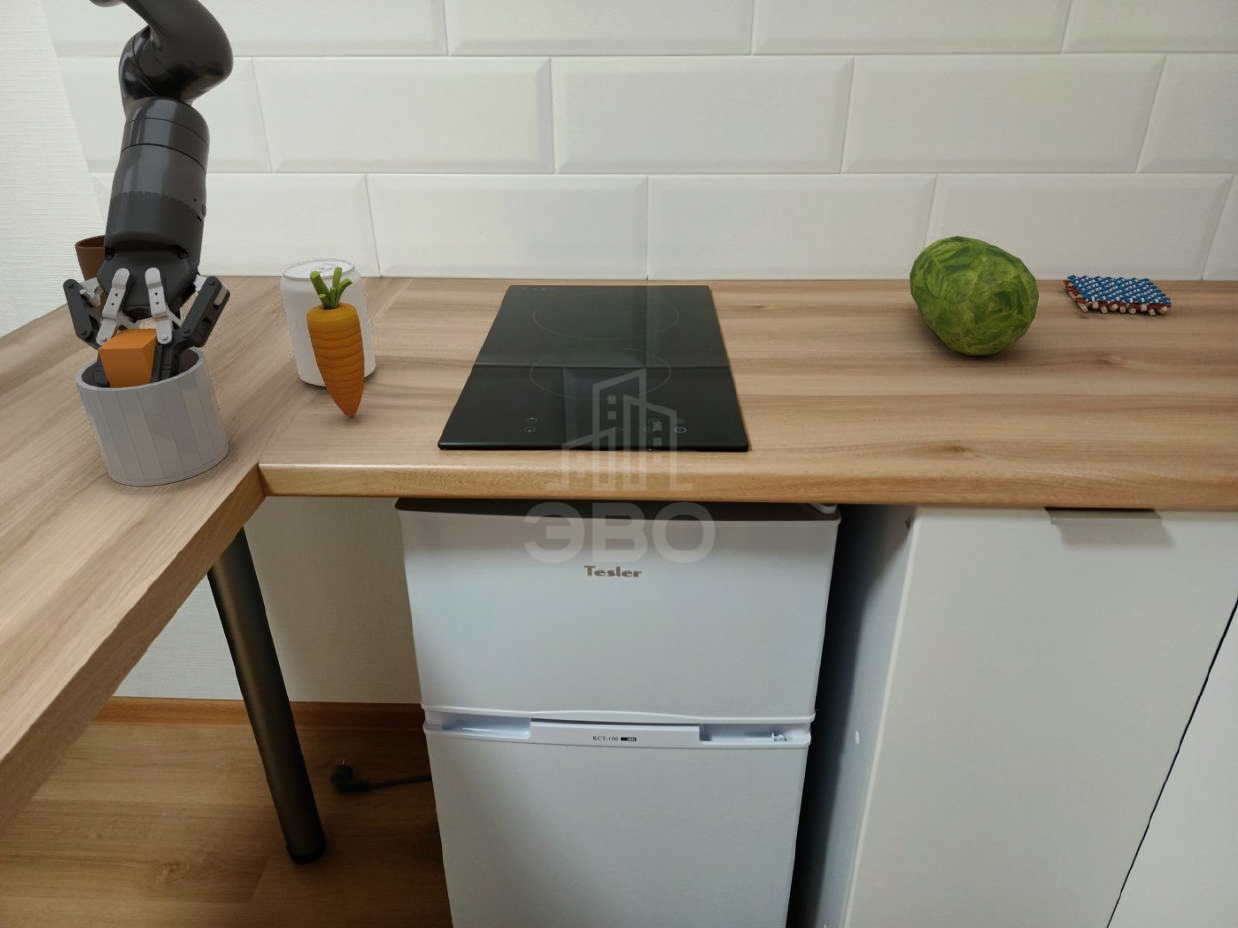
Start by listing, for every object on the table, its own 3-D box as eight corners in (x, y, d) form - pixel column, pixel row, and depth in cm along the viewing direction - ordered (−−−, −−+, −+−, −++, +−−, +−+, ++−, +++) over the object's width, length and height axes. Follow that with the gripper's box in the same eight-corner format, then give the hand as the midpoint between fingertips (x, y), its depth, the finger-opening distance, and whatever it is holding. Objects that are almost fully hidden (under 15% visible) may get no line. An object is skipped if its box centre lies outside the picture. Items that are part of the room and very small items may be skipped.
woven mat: (1058, 287, 117) (1062, 272, 116) (1144, 291, 115) (1148, 276, 114) (1078, 312, 108) (1082, 296, 107) (1171, 317, 106) (1176, 301, 105)
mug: (109, 296, 120) (87, 228, 115) (168, 290, 122) (149, 223, 117) (90, 323, 110) (66, 250, 105) (155, 317, 112) (134, 244, 107)
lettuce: (968, 303, 111) (985, 215, 106) (1041, 364, 93) (1066, 262, 88) (880, 305, 111) (892, 217, 106) (936, 367, 93) (954, 265, 88)
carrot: (362, 401, 88) (336, 256, 80) (386, 417, 85) (361, 267, 77) (316, 416, 85) (284, 267, 78) (339, 433, 82) (309, 279, 74)
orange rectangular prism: (132, 455, 75) (97, 348, 70) (155, 431, 79) (123, 329, 74) (174, 454, 75) (141, 347, 70) (194, 430, 79) (165, 328, 74)
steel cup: (82, 473, 76) (47, 379, 71) (173, 426, 84) (147, 338, 79) (165, 495, 72) (134, 397, 68) (252, 443, 80) (230, 353, 76)
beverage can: (283, 384, 92) (259, 274, 86) (332, 357, 99) (312, 253, 93) (346, 394, 89) (325, 282, 83) (391, 366, 96) (374, 260, 90)
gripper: (52, 189, 73) (20, 377, 69) (219, 186, 74) (199, 373, 69) (101, 235, 81) (76, 409, 76) (254, 232, 81) (238, 405, 76)
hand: (135, 391), depth 72 cm, fingers closed on orange rectangular prism, 3 cm apart
